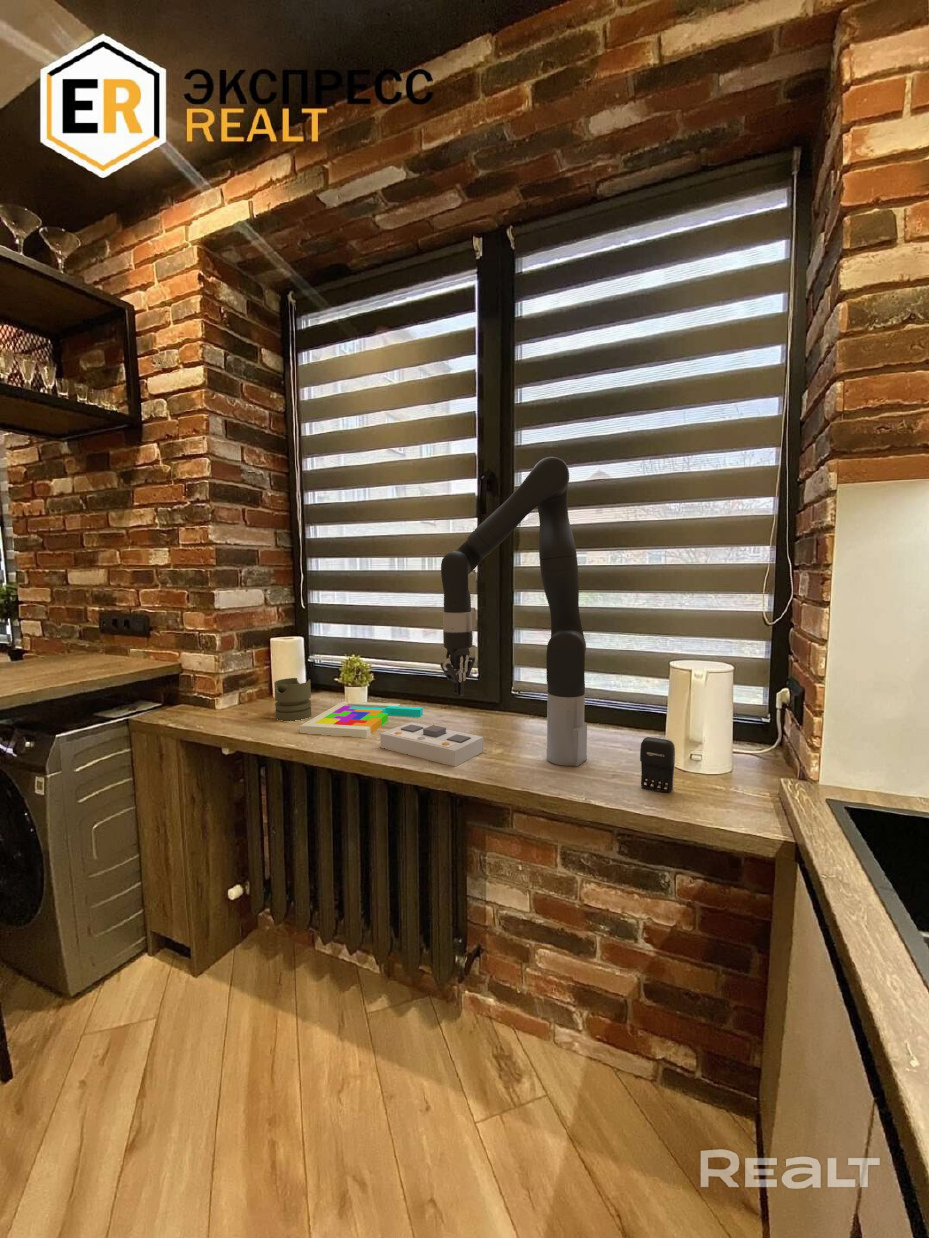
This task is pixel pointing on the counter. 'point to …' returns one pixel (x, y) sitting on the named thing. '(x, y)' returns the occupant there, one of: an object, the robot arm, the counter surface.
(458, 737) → the button near
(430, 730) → the button middle
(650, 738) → the battery charger
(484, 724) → the counter surface
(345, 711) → the puzzle game
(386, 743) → the button panel
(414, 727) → the button far
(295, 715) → the piston
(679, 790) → the counter surface
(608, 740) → the counter surface
